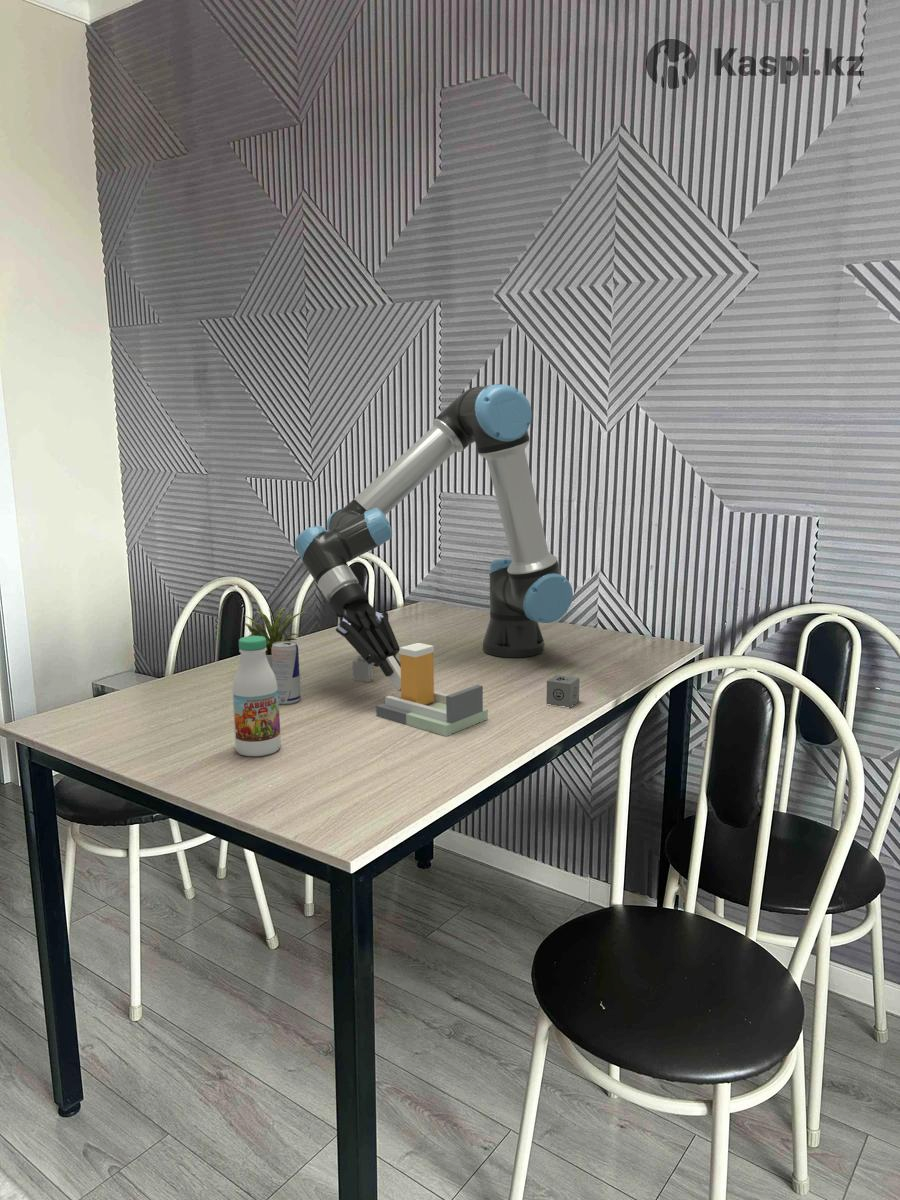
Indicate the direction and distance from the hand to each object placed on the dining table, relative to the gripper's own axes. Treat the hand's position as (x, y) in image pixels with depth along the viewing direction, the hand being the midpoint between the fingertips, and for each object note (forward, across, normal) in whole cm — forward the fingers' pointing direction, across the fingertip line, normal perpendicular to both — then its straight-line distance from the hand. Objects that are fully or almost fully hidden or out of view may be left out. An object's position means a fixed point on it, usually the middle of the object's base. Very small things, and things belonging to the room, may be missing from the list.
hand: (403, 686), depth 174 cm
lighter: (-11, -10, -18) cm, 23 cm away
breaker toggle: (+4, 0, 0) cm, 4 cm away
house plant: (-23, +1, -31) cm, 38 cm away
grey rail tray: (+8, -1, +1) cm, 8 cm away
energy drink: (-12, +11, -20) cm, 26 cm away
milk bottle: (0, +31, -7) cm, 32 cm away
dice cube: (+19, -24, +11) cm, 32 cm away
